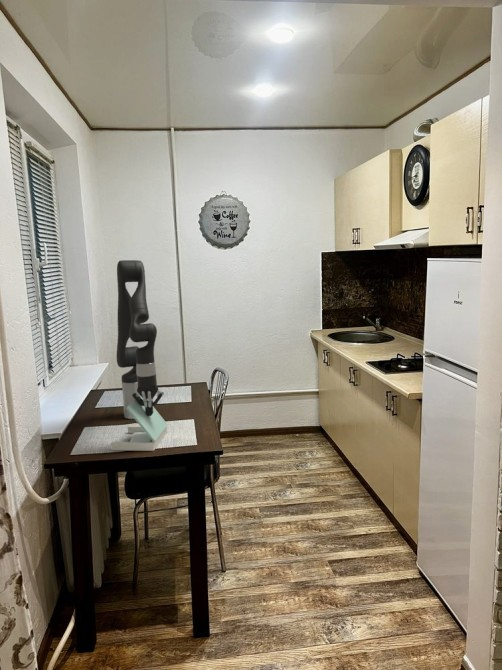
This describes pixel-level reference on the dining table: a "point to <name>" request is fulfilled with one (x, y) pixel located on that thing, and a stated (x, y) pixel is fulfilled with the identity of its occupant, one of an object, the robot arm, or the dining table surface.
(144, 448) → the drive bay
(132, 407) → the cover
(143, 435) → the hard drive
